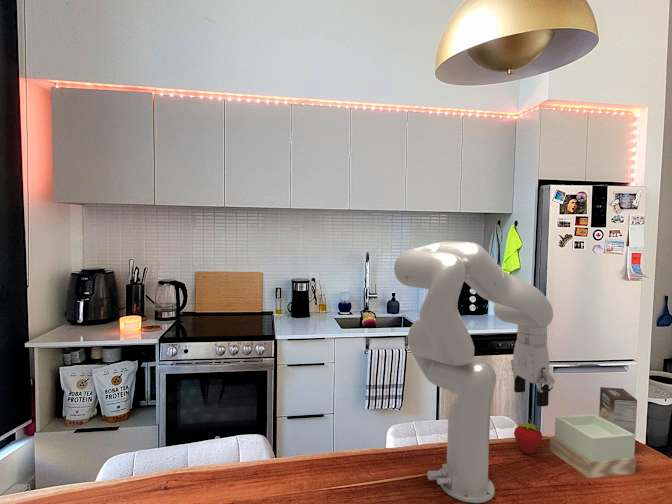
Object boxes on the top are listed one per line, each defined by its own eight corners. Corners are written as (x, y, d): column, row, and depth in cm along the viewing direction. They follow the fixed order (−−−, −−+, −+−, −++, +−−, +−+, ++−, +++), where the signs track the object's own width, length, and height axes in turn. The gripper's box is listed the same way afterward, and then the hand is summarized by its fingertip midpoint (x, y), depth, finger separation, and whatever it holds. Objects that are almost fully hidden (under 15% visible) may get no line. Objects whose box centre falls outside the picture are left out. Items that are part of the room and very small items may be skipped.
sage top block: (591, 461, 103) (593, 438, 103) (554, 437, 116) (555, 416, 116) (634, 457, 106) (635, 434, 106) (593, 434, 119) (594, 413, 119)
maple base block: (588, 480, 103) (588, 462, 103) (549, 451, 117) (550, 436, 117) (634, 475, 106) (635, 458, 105) (591, 448, 119) (592, 433, 119)
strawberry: (509, 448, 117) (510, 413, 117) (535, 448, 117) (536, 414, 117) (518, 459, 111) (520, 423, 111) (546, 459, 111) (547, 423, 111)
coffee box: (596, 437, 125) (599, 386, 124) (620, 440, 123) (622, 388, 123) (610, 453, 116) (613, 397, 115) (636, 455, 114) (638, 399, 114)
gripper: (501, 331, 121) (500, 388, 122) (540, 347, 104) (539, 413, 105) (524, 330, 123) (523, 386, 123) (566, 346, 106) (564, 410, 106)
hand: (530, 398), depth 114 cm, fingers open, 9 cm apart
